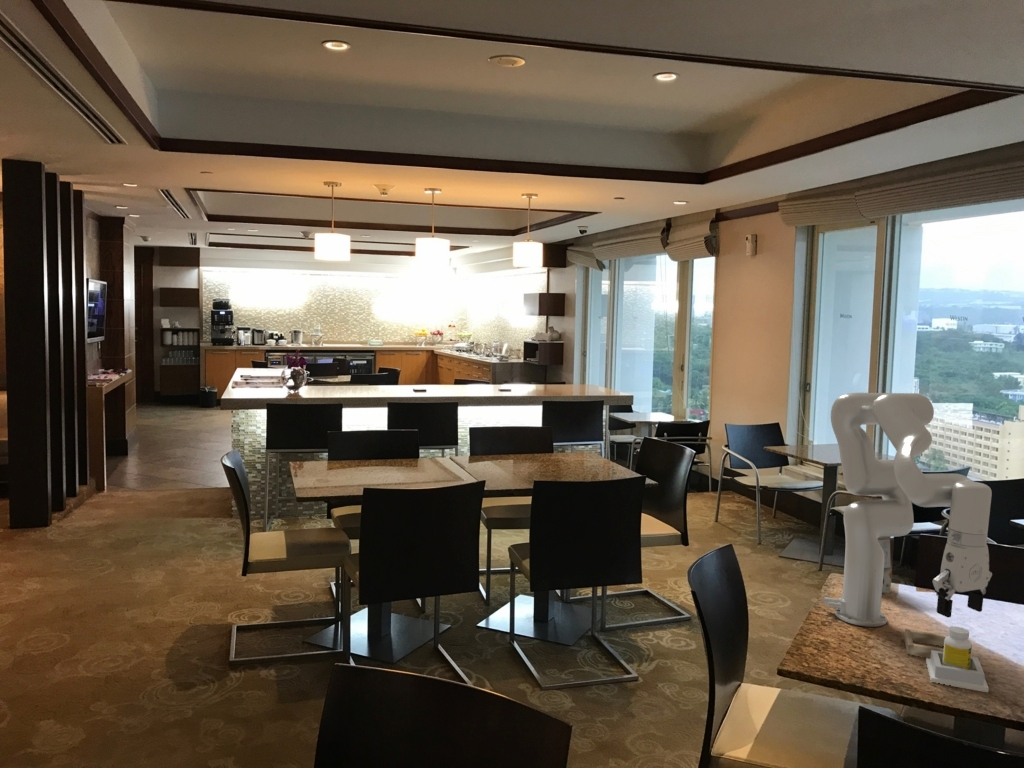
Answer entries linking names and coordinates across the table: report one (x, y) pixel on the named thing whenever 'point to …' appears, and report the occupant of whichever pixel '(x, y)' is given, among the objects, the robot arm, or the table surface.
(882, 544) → the coffee box
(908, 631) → the beige square frame
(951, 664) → the supplement bottle
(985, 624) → the table surface
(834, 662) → the table surface
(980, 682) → the socket
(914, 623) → the table surface
